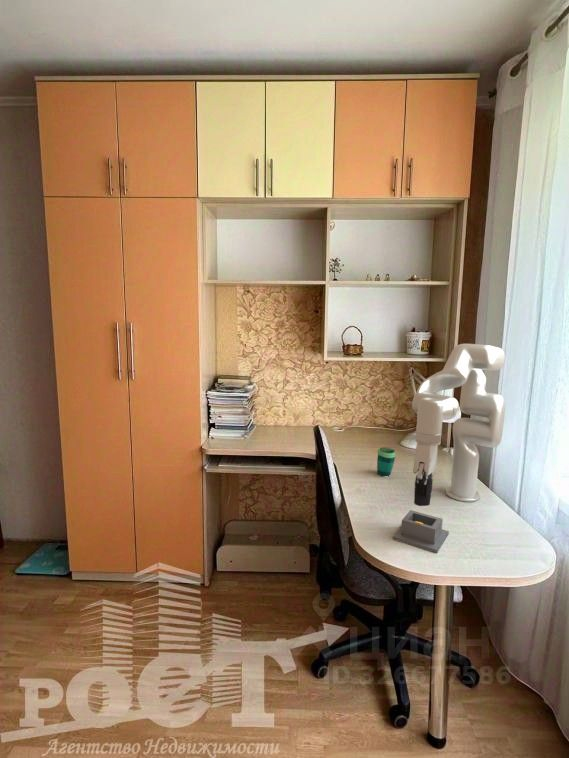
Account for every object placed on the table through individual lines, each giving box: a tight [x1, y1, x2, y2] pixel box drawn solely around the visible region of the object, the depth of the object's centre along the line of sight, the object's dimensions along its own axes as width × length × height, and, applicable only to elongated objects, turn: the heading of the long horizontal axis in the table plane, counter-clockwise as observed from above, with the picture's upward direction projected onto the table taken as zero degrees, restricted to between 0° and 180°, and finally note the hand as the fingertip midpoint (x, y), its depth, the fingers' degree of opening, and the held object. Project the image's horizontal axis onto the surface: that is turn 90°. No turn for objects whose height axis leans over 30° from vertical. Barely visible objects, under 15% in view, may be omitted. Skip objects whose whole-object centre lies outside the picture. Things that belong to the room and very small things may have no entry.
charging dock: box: [392, 509, 450, 554], centre depth 141 cm, size 14×14×6 cm
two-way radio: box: [413, 473, 433, 507], centre depth 138 cm, size 6×4×15 cm
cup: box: [376, 446, 397, 477], centre depth 192 cm, size 8×8×12 cm
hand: (424, 491), depth 138 cm, fingers closed on two-way radio, 4 cm apart
